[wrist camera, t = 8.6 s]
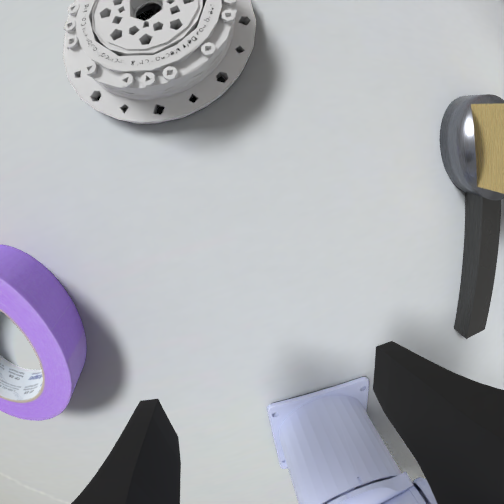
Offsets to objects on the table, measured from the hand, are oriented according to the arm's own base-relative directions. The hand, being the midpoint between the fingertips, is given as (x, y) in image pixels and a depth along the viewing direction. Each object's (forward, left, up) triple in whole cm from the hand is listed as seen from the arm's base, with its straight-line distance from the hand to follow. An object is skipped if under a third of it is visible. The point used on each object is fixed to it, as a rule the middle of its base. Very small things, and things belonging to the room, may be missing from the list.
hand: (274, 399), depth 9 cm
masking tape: (0, +16, -10) cm, 19 cm away
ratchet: (0, -18, -9) cm, 20 cm away
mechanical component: (+14, +2, -10) cm, 18 cm away
